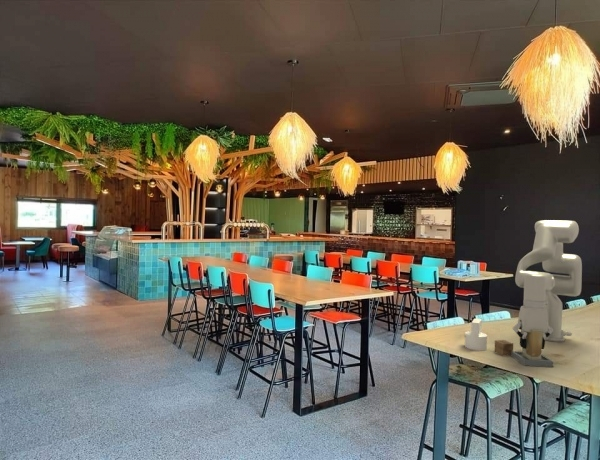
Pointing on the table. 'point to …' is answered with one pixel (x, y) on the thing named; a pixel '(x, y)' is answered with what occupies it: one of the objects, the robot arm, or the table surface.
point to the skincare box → (533, 345)
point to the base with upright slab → (476, 337)
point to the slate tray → (526, 361)
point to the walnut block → (503, 347)
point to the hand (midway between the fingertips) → (532, 347)
